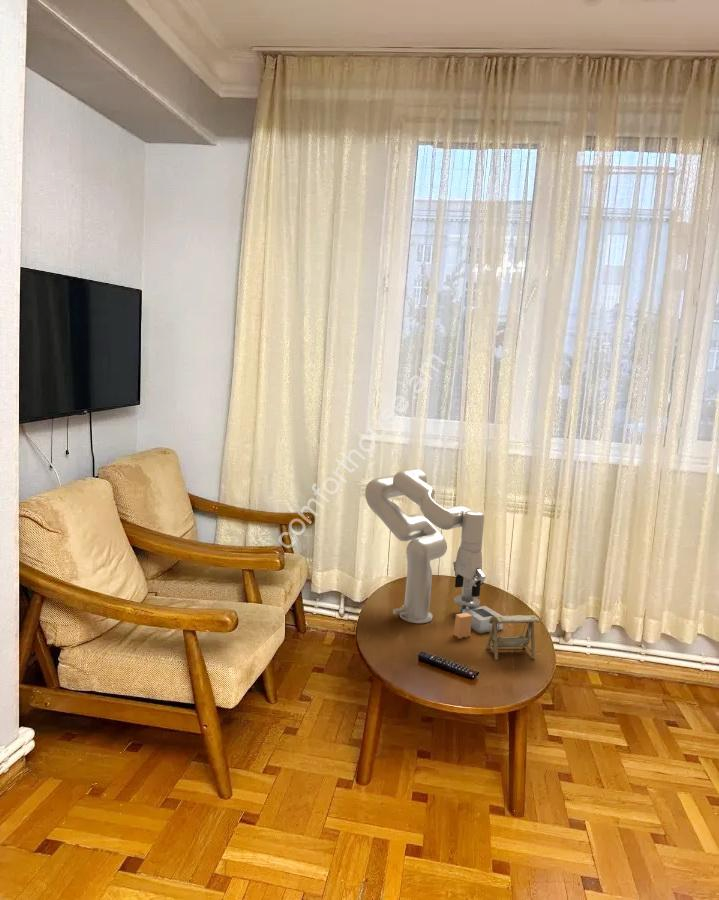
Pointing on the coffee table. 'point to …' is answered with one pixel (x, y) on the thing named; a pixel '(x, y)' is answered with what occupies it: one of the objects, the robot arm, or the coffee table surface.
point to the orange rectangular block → (462, 625)
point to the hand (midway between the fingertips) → (466, 591)
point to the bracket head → (475, 609)
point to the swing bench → (512, 640)
